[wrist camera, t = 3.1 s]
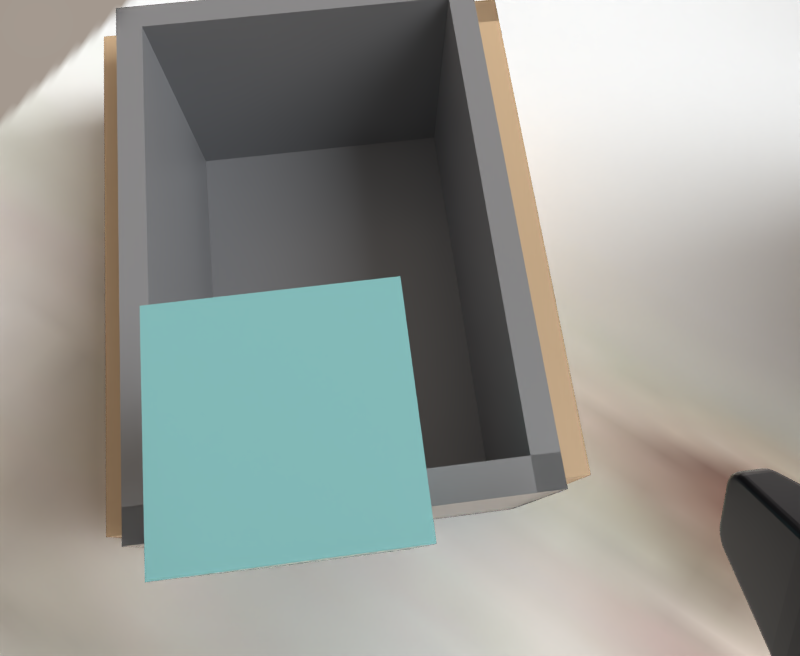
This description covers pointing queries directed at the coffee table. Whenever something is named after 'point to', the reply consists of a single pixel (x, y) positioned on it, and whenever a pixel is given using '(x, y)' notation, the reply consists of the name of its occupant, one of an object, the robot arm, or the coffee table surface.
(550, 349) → the tan open box
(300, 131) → the grey box with post
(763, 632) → the robot arm
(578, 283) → the coffee table surface
